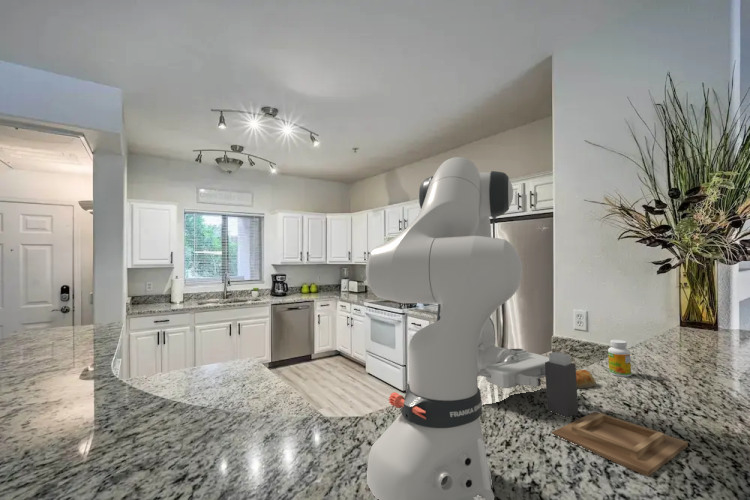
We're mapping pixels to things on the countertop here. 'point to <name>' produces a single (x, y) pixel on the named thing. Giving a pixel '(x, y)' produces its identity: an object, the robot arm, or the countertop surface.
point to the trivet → (622, 442)
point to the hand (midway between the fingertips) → (551, 378)
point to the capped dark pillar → (561, 385)
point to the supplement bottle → (619, 359)
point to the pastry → (584, 379)
